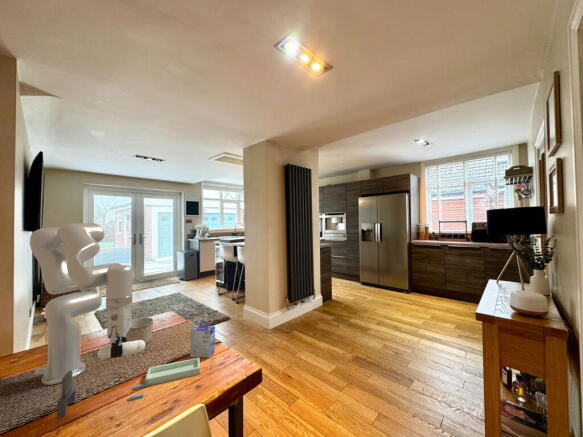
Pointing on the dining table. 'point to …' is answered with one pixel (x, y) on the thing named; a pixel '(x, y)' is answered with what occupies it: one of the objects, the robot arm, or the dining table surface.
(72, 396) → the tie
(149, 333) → the planter
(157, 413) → the dining table surface
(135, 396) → the pair of grey bars
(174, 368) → the tray
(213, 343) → the ink cartridge box
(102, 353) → the capsule
